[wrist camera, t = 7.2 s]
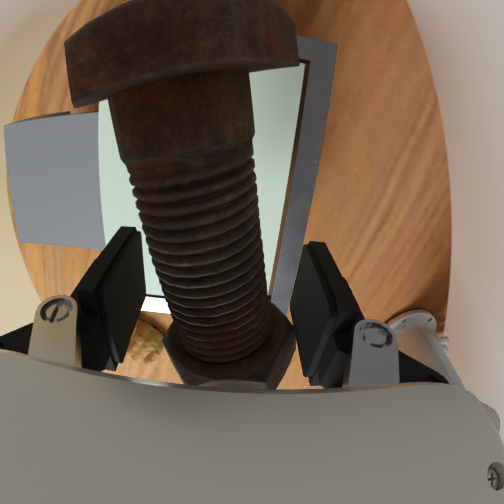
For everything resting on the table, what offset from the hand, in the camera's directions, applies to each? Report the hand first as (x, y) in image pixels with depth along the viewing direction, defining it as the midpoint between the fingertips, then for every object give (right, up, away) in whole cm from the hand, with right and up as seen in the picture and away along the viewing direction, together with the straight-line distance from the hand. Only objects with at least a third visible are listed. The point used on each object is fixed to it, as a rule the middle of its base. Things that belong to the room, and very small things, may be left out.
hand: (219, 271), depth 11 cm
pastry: (-16, -11, +30) cm, 36 cm away
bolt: (0, +1, 0) cm, 1 cm away
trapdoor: (-8, +8, +12) cm, 16 cm away
